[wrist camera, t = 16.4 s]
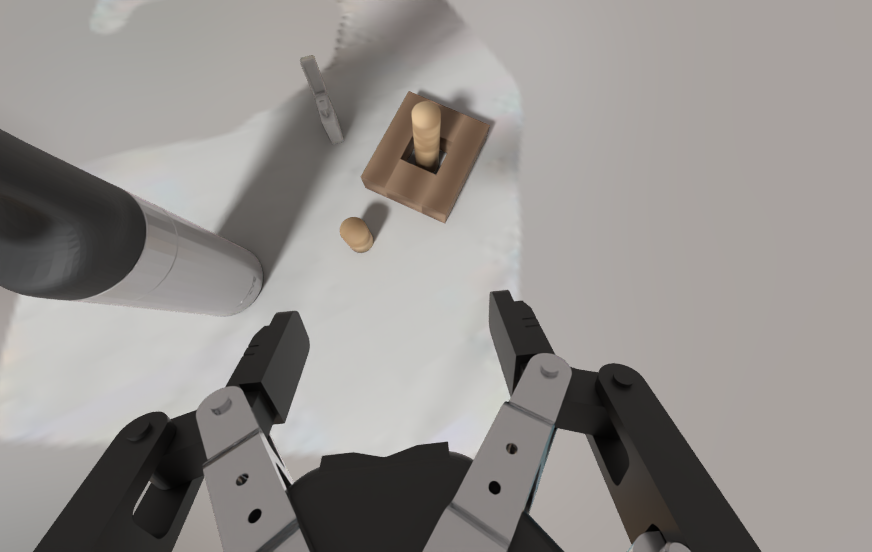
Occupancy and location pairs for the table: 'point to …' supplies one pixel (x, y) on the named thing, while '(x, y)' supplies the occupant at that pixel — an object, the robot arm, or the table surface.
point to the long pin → (426, 135)
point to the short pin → (356, 234)
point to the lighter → (322, 99)
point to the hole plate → (416, 184)
